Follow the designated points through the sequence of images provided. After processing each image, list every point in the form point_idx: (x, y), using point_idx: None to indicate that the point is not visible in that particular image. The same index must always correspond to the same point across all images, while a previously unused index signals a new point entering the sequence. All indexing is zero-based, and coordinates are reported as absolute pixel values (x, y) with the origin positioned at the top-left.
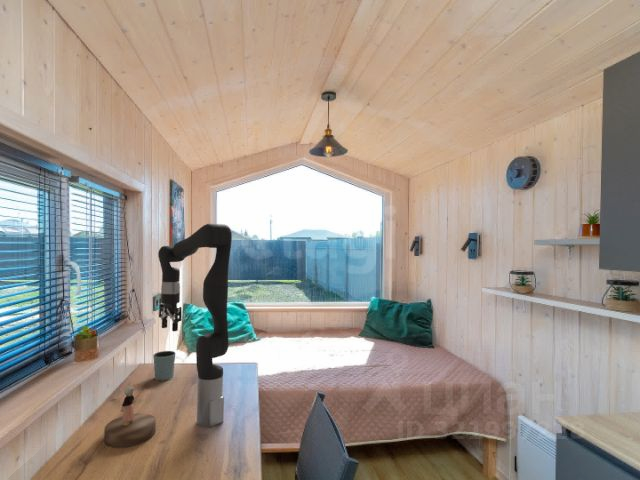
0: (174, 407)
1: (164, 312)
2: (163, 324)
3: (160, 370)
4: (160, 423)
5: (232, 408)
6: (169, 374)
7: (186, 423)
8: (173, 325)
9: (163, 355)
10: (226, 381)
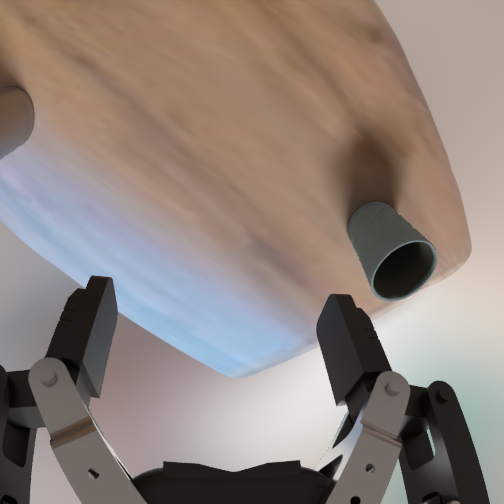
0: (146, 94)
1: (325, 499)
2: (340, 330)
3: (379, 220)
4: (90, 16)
5: (30, 197)
6: (352, 231)
7: (38, 68)
8: (71, 330)
9: (415, 274)
10: (188, 295)
